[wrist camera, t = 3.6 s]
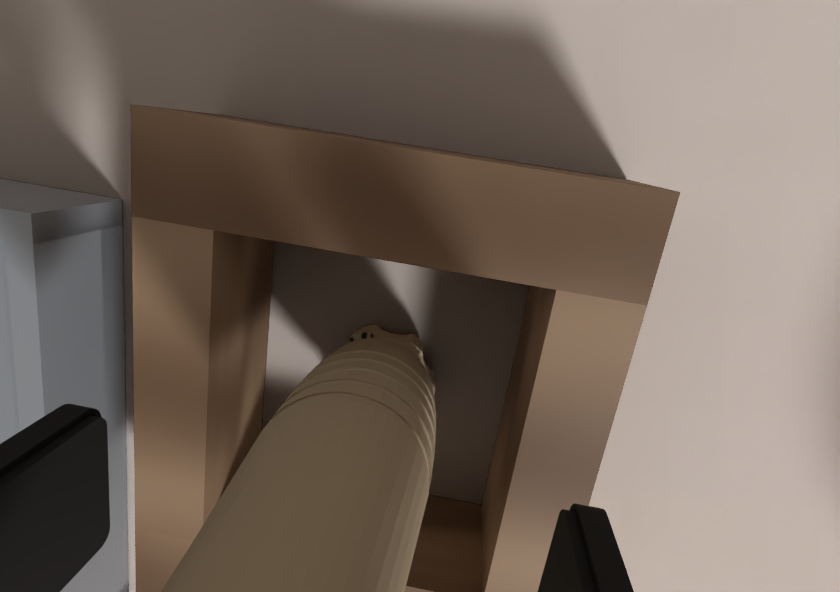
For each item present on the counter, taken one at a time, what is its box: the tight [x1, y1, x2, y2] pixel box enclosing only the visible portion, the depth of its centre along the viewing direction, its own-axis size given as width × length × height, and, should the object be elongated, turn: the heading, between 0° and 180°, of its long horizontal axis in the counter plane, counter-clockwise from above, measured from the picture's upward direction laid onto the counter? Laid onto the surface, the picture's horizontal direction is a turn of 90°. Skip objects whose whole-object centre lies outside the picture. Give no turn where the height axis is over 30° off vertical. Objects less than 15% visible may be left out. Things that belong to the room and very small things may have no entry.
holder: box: [131, 105, 680, 592], centre depth 15 cm, size 14×12×4 cm
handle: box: [161, 325, 436, 592], centre depth 10 cm, size 5×6×15 cm
